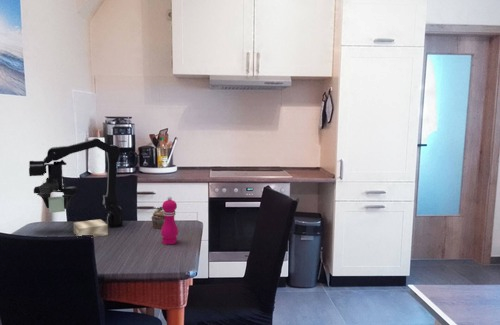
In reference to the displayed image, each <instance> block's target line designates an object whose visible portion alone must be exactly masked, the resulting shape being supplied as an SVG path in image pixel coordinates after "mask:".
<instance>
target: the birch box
mask: <svg viewBox="0 0 500 325" xmlns="http://www.w3.org/2000/svg"><path fill="white" fill-rule="evenodd" d="M72 224H73V234H74V235H75V234H76V235H75V236H76V237H77V236H82V235H93V236H94V237H93V238H97V237H103V236H108V234H109V231H108V230H109V226H108V224H107V222H105V221H104V220H102V219H101V218H99V219H90V220H82V221H75V222H73V223H72Z"/></svg>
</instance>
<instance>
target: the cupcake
mask: <svg viewBox="0 0 500 325" xmlns="http://www.w3.org/2000/svg"><path fill="white" fill-rule="evenodd" d="M151 222H152V228H153V229H157V230H162V227H163V225H164V222H165V215H164V210H163V208H162V206H159V207H157V208H155V209H154V212H153V213H152V216H151Z"/></svg>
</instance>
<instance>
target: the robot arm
mask: <svg viewBox="0 0 500 325" xmlns="http://www.w3.org/2000/svg"><path fill="white" fill-rule="evenodd" d="M94 148H97V149H100V150H101V151H104V152H105V154H106V159H107V160H106V161H107V180H106V181H107V182H106V183H107V185H106V187H107V188H106V194H105V195H104V194H103V195H102V198H103V200H102V205H103V206H104V208H105V210H107V216H106V224H107V225H108V228H116V227H117V228H118V227H123V226H124V223H123V222H124V221H123V216H124V215H123V211H124V210H123V209H122V208H121V207H122V206H120V205H119V203H118V197H117V169H118V168H117V167H118V162H119V159H120V154H121V149H120V147H119V146H117V145H114V144H108V143H107V142H104V141H102V140H101V139H99V138H97V137H96V138H92V139H89V140H86V141H81V142H78V143H74V144H70V145H62V146H54V147H50V148H49V149H48V150H47V152H46V154H47V155H46V156H45V158H44V159H43V160H29V162H28V163H29V165H28V167H29V168H28V175H29V177H42V176H44V175H45V174H47V175H48V177H46V179H45V182H43V183H42V184H41V185H38V186H34V188H33V194H36V196H39V197H41V200H43V203H44V204H45V205H44V206H45V207H46V208H47V209H49V198H48V197H51V194H52V193H62V195H61V196H63V198H64V208H65V210H66V209H68V207H69V205H70V202H71V199H72V198H73V196H75V195H76V194H79V188H78V187H77V186H67V187H65V186H66V185H65V184H64V183H63V180H64V179H65V176H64V175H63V166H67V162H65V161H64V158H65V157H67V156H69V155H72V154H75V153H79V152H82V151H86V150H89V149H94ZM59 160H60V161H59ZM52 162H53V163H52Z"/></svg>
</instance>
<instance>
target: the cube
mask: <svg viewBox="0 0 500 325" xmlns="http://www.w3.org/2000/svg"><path fill="white" fill-rule="evenodd" d="M48 198H49V208H48V211H49V214H51V213H53V214H54V213H59V212H60V213H62V212H66V209H65V208H64V198H63V196H62V195H60V196H50V197H48Z"/></svg>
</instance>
